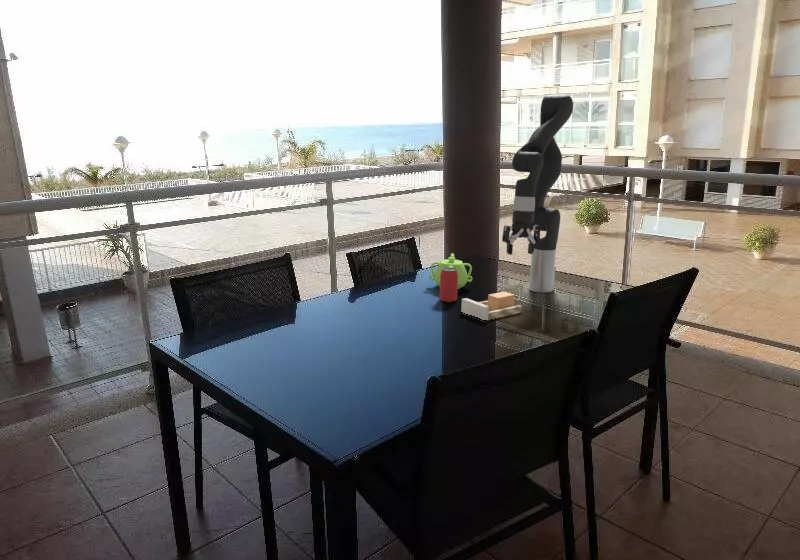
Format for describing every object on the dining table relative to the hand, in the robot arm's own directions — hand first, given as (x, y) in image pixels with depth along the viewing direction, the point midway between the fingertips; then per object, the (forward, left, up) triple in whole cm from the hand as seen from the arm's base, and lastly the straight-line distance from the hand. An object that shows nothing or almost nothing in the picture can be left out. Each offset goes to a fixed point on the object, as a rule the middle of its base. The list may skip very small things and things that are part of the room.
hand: (519, 254), depth 210 cm
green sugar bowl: (+5, -31, -19) cm, 37 cm away
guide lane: (+14, +3, -19) cm, 24 cm away
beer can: (+18, -17, -19) cm, 32 cm away
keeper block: (+11, +3, -19) cm, 22 cm away
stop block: (+23, +3, -19) cm, 30 cm away
